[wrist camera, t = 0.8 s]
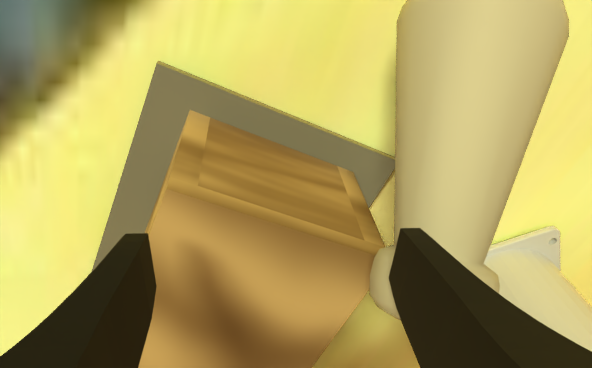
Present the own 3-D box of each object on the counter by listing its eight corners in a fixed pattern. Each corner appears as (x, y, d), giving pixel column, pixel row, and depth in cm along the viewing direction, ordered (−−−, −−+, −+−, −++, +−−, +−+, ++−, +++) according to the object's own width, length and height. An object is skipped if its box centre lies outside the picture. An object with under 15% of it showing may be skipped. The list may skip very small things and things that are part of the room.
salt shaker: (501, 24, 19) (450, 311, 19) (384, -14, 18) (324, 289, 17) (625, -46, 14) (557, 364, 13) (465, -107, 12) (381, 338, 12)
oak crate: (189, 109, 20) (166, 189, 14) (353, 172, 23) (390, 260, 17) (129, 272, 25) (93, 382, 19) (270, 308, 28) (277, 413, 22)
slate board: (158, 60, 19) (156, 63, 19) (397, 158, 23) (399, 161, 23) (42, 430, 33) (40, 435, 32) (205, 451, 37) (205, 456, 36)
